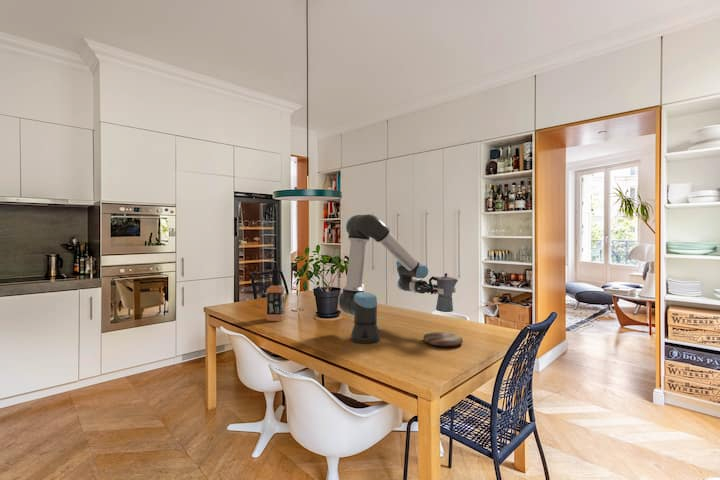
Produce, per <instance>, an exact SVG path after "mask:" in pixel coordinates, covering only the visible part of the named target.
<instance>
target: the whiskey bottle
mask: <svg viewBox="0 0 720 480" xmlns="http://www.w3.org/2000/svg"><path fill="white" fill-rule="evenodd" d="M284 292H285V287H284V286H282V285H281V284H280V277H279V268H272V277H271V285H270V286H269V287H267V288H266V294H267V296H266V298H267V301H266V307H267V308H266V309H267V310H266V314H265V315H266V317H265V318H266V322H283V321H284V320H285V319H286V311H285V293H284Z"/></svg>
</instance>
